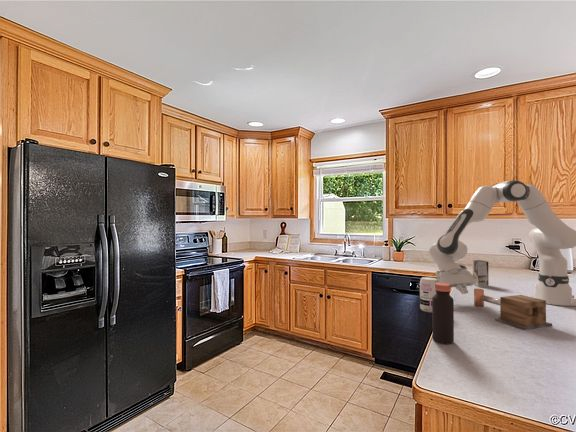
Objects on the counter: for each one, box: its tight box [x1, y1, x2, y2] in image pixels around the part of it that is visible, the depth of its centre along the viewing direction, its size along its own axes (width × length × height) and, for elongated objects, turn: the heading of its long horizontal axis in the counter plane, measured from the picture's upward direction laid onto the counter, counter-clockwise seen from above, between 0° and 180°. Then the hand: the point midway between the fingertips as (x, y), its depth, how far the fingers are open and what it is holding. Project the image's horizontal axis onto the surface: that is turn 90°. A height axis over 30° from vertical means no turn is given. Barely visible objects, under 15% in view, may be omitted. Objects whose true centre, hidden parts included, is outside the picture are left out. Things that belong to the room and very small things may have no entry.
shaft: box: [473, 288, 500, 308], centre depth 142 cm, size 4×20×8 cm, turn 18°
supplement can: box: [419, 276, 439, 313], centre depth 148 cm, size 8×8×15 cm
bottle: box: [431, 283, 455, 345], centre depth 111 cm, size 7×7×20 cm
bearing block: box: [494, 294, 553, 331], centre depth 130 cm, size 16×12×10 cm
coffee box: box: [472, 259, 489, 288], centre depth 203 cm, size 9×6×16 cm
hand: (465, 293), depth 157 cm, fingers closed
